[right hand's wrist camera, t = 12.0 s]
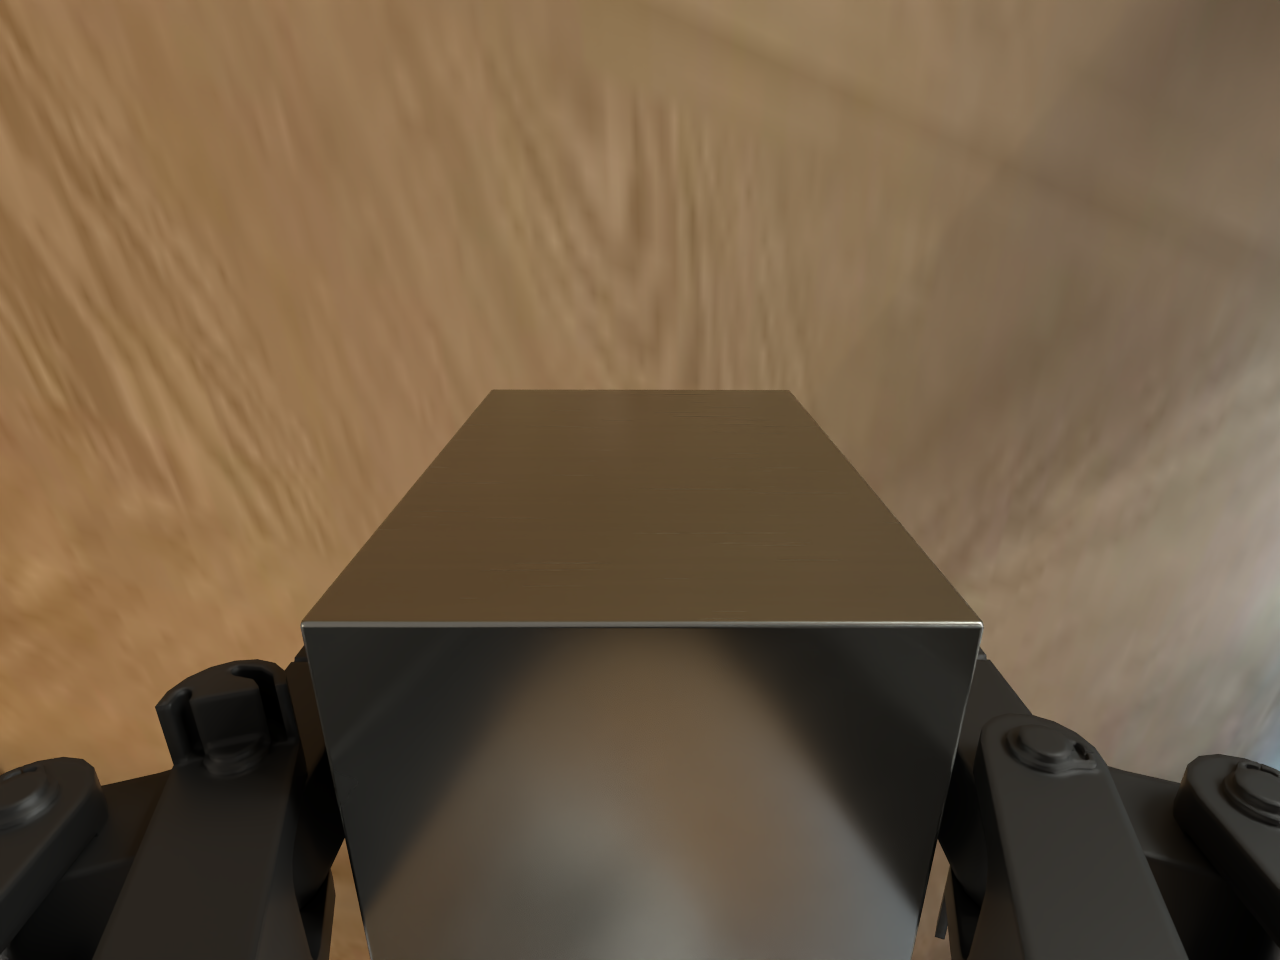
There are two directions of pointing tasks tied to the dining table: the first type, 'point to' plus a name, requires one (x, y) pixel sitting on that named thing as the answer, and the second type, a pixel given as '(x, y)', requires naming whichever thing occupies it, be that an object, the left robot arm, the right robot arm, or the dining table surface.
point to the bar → (641, 691)
